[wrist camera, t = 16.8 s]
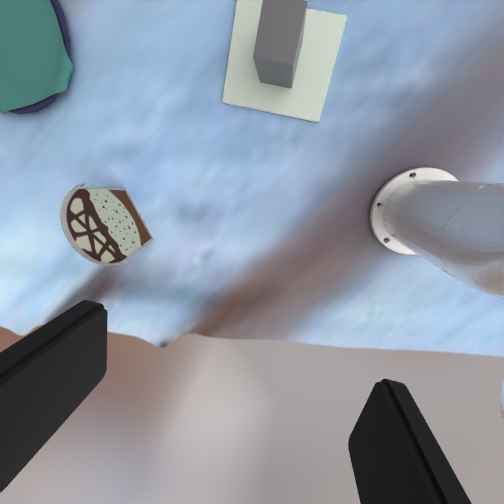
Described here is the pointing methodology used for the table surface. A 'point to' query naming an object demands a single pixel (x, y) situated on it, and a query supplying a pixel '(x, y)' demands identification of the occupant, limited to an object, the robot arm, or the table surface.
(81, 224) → the food container
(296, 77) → the mat
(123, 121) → the table surface
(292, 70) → the block
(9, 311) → the table surface
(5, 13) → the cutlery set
